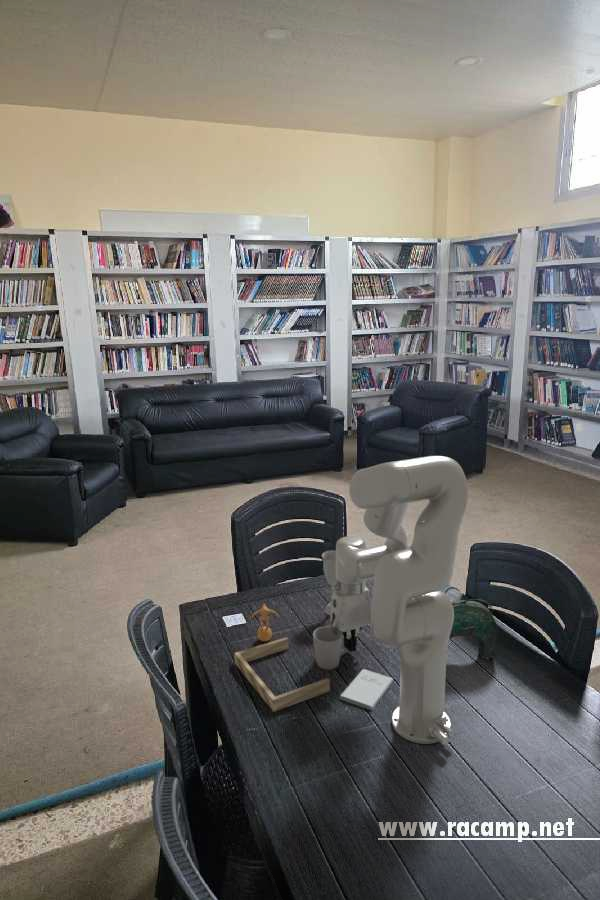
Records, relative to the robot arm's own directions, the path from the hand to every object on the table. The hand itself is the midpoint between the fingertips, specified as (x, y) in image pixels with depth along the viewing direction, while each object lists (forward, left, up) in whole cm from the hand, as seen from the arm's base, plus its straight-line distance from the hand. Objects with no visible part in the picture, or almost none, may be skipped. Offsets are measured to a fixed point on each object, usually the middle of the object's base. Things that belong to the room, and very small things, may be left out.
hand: (350, 648), depth 163 cm
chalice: (+21, -8, -2) cm, 23 cm away
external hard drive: (-15, +5, -2) cm, 16 cm away
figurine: (+16, +17, -2) cm, 23 cm away
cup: (0, +7, -2) cm, 7 cm away
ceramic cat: (-15, -23, -2) cm, 27 cm away
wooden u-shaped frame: (0, +20, -1) cm, 20 cm away
